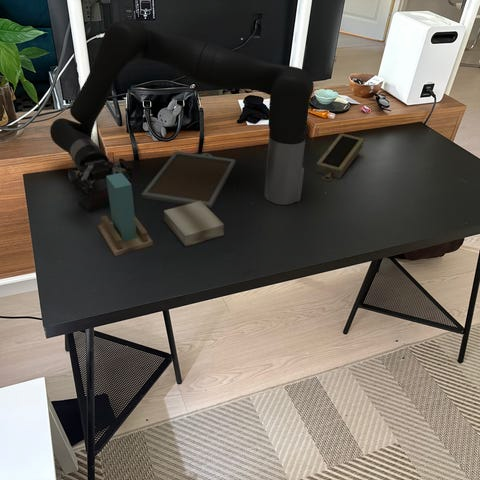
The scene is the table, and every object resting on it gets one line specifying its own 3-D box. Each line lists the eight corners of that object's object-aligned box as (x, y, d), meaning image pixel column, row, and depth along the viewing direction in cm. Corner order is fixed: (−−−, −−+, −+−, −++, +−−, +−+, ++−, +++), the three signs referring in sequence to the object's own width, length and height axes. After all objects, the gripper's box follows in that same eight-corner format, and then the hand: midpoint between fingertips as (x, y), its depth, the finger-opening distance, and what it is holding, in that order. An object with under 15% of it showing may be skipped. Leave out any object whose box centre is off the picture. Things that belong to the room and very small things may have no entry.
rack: (134, 219, 119) (133, 207, 117) (153, 244, 111) (152, 232, 109) (98, 228, 115) (96, 216, 113) (115, 256, 107) (113, 243, 105)
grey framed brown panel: (140, 194, 127) (178, 147, 151) (141, 199, 128) (178, 152, 152) (211, 205, 124) (237, 155, 148) (211, 210, 125) (237, 160, 148)
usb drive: (78, 206, 124) (76, 196, 122) (118, 190, 131) (117, 181, 129) (89, 214, 121) (87, 205, 119) (129, 197, 128) (128, 188, 126)
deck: (200, 210, 123) (200, 200, 121) (223, 234, 115) (223, 224, 113) (164, 220, 119) (163, 210, 117) (185, 246, 111) (185, 235, 109)
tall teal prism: (127, 224, 115) (121, 172, 107) (137, 237, 111) (131, 184, 103) (113, 228, 113) (106, 176, 105) (122, 242, 109) (115, 188, 101)
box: (362, 151, 152) (364, 137, 149) (336, 191, 139) (338, 177, 135) (338, 145, 156) (339, 132, 152) (310, 184, 142) (311, 170, 139)
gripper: (57, 150, 117) (76, 179, 106) (114, 139, 123) (138, 166, 112) (62, 177, 121) (81, 208, 110) (117, 165, 127) (140, 194, 116)
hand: (110, 187), depth 111 cm, fingers open, 8 cm apart
